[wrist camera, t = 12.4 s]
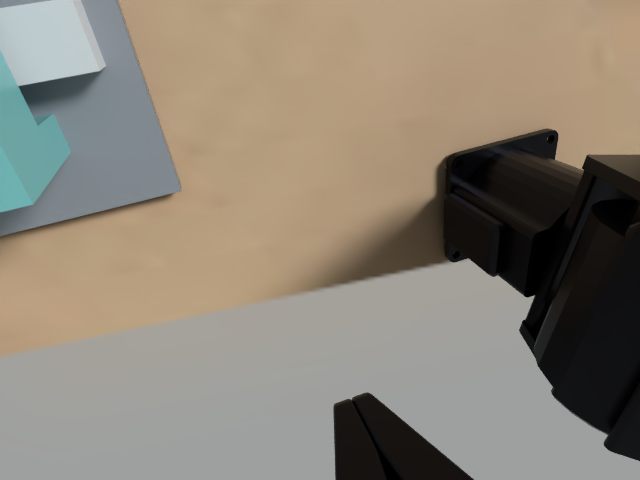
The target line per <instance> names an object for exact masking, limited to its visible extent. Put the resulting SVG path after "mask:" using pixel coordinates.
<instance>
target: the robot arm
mask: <svg viewBox="0 0 640 480" xmlns="http://www.w3.org/2000/svg"><path fill="white" fill-rule="evenodd" d="M547 138H548V140H547ZM546 140H547V141H546ZM557 142H558V133H557V131H555V130H552V129H543V130H539V131H536V132H532V133H528V134H524V135H520V136H517V137H513V138H509V139H505V140H502V141H498V142H494V143H490V144H486V145H483V146H479V147H475V148H471V149H468V150H464V151H460V152H456V153H454V154H452V155H451V156H450V157H449V158H448V160H447V164H446V197H445V199H444V239H445V257H446V258H447V259H448V260H450V261H451V262H457V261H461V260H464V259H467V258H469V259H470V260H471V261H473V262H474V263H475V264H477V265H478V266H479V267H480V268H481V269H483V270H484V271H485V272H486V273H487V274H489V275H490V276H493V277H494V276H497V275H498V276H500V277H501V278H502V279H504V280H505V281H506V282H507V283H509V284H510V285H511V286H512V287H514V288H515V289H516V290H517V291H519V292H520V293H521V294H523V295H524V296H525V297H531V296H533V295H535V297H534V299H533V302H532V304H531V307H530V310H529V312H528V315H527V317H526V320H523V321H522V324H521V327H520V329H519V331H520V333H521V335H522V336H523V338H524V340H525V341H526V343H527V345H528V346H529V348H530V349H531V351H532V353H533V354H534V356H535V358H536V361H537V364H538V367H539V368H540V370H541V371H542V372H543V374H544V375H545V377H546V378H547V379H548V381H549V382H550V383H551V385H552V386H553V388H552V390H551V392H552V395H553V396H554V397H555V399H556V400H557V401H559V402H560V403H561V404H562V405H563V406H564V407H565V408H567V409H568V410H569V411H570V412H571V413H572V414H574V415H575V416H577V417H578V418H580V419H581V420H582V421H584V422H586V423H587V424H588V425H590V426H591V427H593V428H595V429H597V430H599V431H601V432H603V433H605V434H607V435H608V436H607V438H606V439H605V441H604V446H605V447H606V448H607V449H608V450H610V451H612V452H614V453H617V454H620V455H623V456H626V457H629V458H632V459H635V460H639V461H640V155H587V157H586V159H585V162H584V164H583V167H582V169H584V171H583V170H581V169H578V168H575V167H573V166H570V165H567V164H565V163H562V162H559V161H557V160H555V155H556V148H557ZM458 160H459V164H458V165H457V166H455V164H456V162H457V161H458ZM454 252H455V254H453V253H454ZM334 440H335V441H334V443H335V476H336V477H335V478H336V480H474V479H473V478H471V477H470V476H469V475H468V474H467V473H465V472H464V471H463V470H462V469H461V468H459V467H458V466H457V465H455V463H453V462H452V461H451V460H450V459H449V458H447V457H446V456H445V455H444V454H443V453H441V452H440V451H439V450H438V449H437V448H435V447H434V446H433V445H432V444H431V443H429V442H428V441H427V440H426V439H425V438H423V437H422V436H421V435H420V434H419V433H417V432H416V431H415V430H414V429H412V428H411V427H410V426H409V425H408V424H407V423H405V422H404V421H403V420H402V419H401V418H399V417H398V416H397V415H396V414H395V413H393V412H392V411H391V410H390V409H389V408H387V407H386V406H385V405H384V404H383V403H381V402H380V401H379V400H378V399H377V398H375V397H374V396H373V395H372V394H370V393H363V394H361V395H358V396H355V397H353V398H352V400H350V399H347V400H344V401H341V402H339V403H336V404H335V405H334Z"/></svg>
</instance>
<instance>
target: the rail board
mask: <svg viewBox="0 0 640 480" xmlns="http://www.w3.org/2000/svg"><path fill="white" fill-rule="evenodd" d="M0 51H1V53H2V55H3V57H4V59H5V61H6V63H7V65H8V67H9V69H10V71H11V73H12V75H13V77H14V79H15V81H16V83H17V85H18V87H19V89H20V91H21V93H22V95H23V97H24V99H25V101H26V103H27V105H28V107H29V109H30V111H31V113H32V115H33V117H37V116H42V115H47V114H52V113H53V114H54V116H55V118H56V120H57V122H58V124H59V126H60V129H61V131H62V133H63V135H64V137H65V139H66V141H67V144H68V146H69V148H70V150H71V153H70V155H69V156H68V157H67V159H66V160H65V162H64V163H63V164H62V166H61V167H60V168H59V170H58V171H57V173H56V174H55V175H54V177H53V178H52V180H51V181H50V182H49V184H48V185H47V186H46V188H45V189H44V191H43V192H42V193H41V195H40V196H39V198H38V199H37V200H36V202H35V203H34V204H33V205H30V206H25V207H21V208H17V209H13V210H9V211H4V212H0V236H3V235H7V234H11V233H15V232H19V231H23V230H27V229H31V228H35V227H39V226H43V225H47V224H51V223H55V222H59V221H63V220H67V219H71V218H75V217H79V216H83V215H87V214H91V213H95V212H99V211H103V210H107V209H111V208H115V207H119V206H123V205H127V204H131V203H135V202H139V201H143V200H147V199H151V198H155V197H160V196H164V195H168V194H172V193H176V192H180V191H181V184H180V181H179V178H178V175H177V172H176V169H175V166H174V163H173V161H172V158H171V155H170V152H169V149H168V146H167V143H166V140H165V137H164V134H163V131H162V128H161V125H160V123H159V120H158V117H157V114H156V111H155V108H154V105H153V102H152V99H151V96H150V93H149V90H148V87H147V85H146V82H145V79H144V76H143V73H142V70H141V67H140V64H139V61H138V58H137V55H136V52H135V49H134V47H133V44H132V41H131V38H130V35H129V32H128V29H127V26H126V23H125V20H124V17H123V14H122V11H121V9H120V6H119V3H118V0H0Z"/></svg>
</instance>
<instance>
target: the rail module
mask: <svg viewBox="0 0 640 480" xmlns="http://www.w3.org/2000/svg"><path fill="white" fill-rule="evenodd" d="M70 153H71V150H70V148H69V146H68V144H67V141H66V139H65V137H64V135H63V133H62V131H61V129H60V126H59V124H58V122H57V120H56V118H55V116H54V114H53V113H52V114H47V115H42V116H37V117H33V115H32V113H31V111H30V109H29V107H28V105H27V103H26V101H25V99H24V97H23V95H22V93H21V91H20V89H19V87H18V85H17V83H16V81H15V79H14V77H13V75H12V73H11V71H10V69H9V67H8V65H7V63H6V61H5V59H4V57H3V55H2V53H1V51H0V212H4V211H9V210H13V209H17V208H21V207H25V206H30V205H33V204H34V203H35V202H36V200H37V199H38V198H39V196H40V195H41V193H42V192H43V191H44V189H45V188H46V186H47V185H48V184H49V182H50V181H51V180H52V178H53V177H54V175H55V174H56V173H57V171H58V170H59V168H60V167H61V166H62V164H63V163H64V162H65V160H66V159H67V157H68V156H69V155H70Z"/></svg>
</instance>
